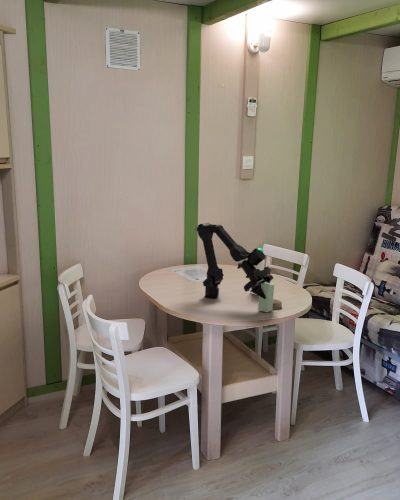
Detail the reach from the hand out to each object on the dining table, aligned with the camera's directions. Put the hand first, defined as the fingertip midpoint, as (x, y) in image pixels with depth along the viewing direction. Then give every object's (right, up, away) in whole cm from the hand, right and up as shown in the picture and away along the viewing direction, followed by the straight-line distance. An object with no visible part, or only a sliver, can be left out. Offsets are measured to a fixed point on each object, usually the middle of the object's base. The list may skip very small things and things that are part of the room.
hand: (268, 297), depth 228 cm
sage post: (-1, -6, +2) cm, 7 cm away
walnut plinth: (+4, -6, +10) cm, 12 cm away
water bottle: (-2, -1, +31) cm, 31 cm away
